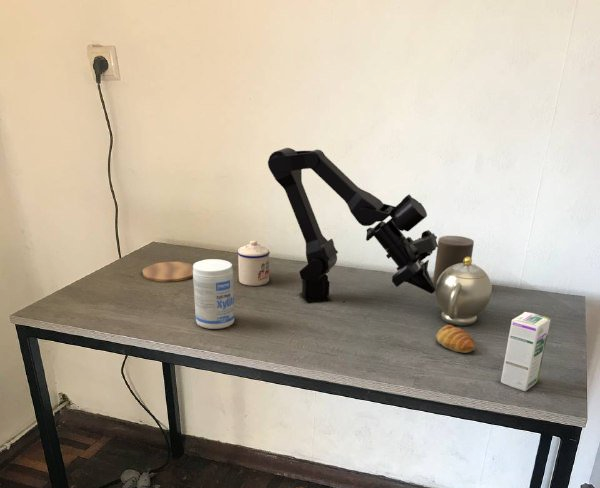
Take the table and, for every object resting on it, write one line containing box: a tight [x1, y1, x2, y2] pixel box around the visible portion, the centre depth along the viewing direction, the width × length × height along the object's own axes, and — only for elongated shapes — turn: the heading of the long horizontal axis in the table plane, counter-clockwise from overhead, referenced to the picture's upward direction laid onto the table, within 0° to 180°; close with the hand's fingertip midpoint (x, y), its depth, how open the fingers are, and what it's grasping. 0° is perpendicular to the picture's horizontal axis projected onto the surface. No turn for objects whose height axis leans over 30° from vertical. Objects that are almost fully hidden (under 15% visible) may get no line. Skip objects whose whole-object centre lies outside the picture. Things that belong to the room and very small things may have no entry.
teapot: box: [434, 257, 493, 327], centre depth 156 cm, size 18×14×16 cm
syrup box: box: [500, 311, 551, 392], centre depth 129 cm, size 6×6×14 cm
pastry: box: [435, 324, 476, 354], centre depth 146 cm, size 9×7×4 cm
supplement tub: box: [192, 258, 235, 330], centre depth 153 cm, size 10×10×15 cm
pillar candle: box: [432, 235, 475, 288], centre depth 178 cm, size 10×10×15 cm
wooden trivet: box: [142, 261, 194, 283], centre depth 188 cm, size 16×16×1 cm
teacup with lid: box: [237, 240, 271, 287], centre depth 181 cm, size 12×9×12 cm
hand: (433, 292), depth 159 cm, fingers closed
